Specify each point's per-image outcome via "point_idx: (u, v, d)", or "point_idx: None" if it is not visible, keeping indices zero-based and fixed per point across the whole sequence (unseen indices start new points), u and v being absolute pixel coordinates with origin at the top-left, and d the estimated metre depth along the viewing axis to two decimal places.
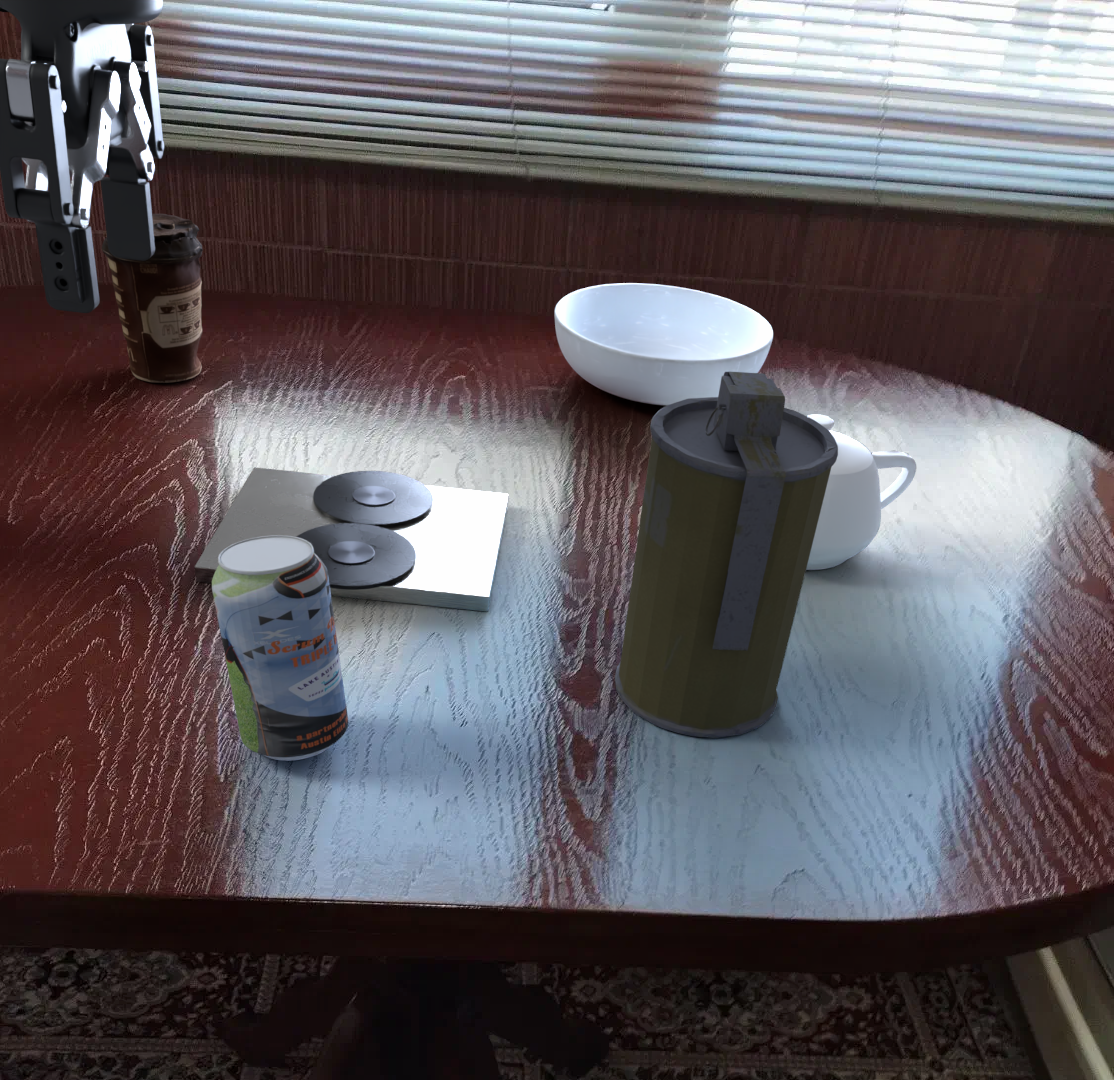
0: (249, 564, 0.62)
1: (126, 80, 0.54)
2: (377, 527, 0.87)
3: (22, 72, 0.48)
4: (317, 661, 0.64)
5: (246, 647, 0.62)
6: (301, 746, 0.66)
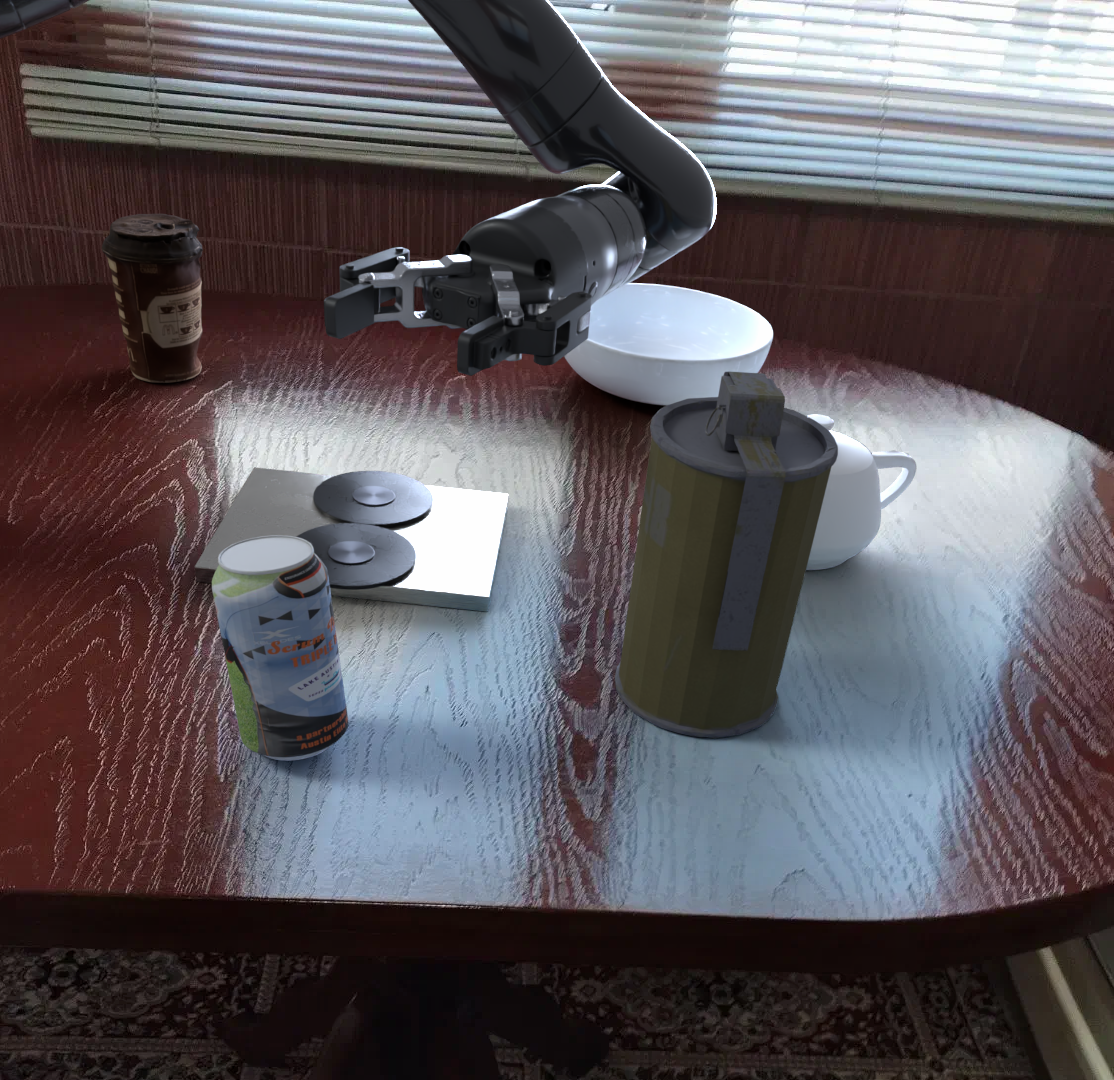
0: (249, 564, 0.62)
1: None
2: (377, 527, 0.87)
3: (589, 320, 0.70)
4: (317, 661, 0.64)
5: (246, 647, 0.62)
6: (301, 746, 0.66)
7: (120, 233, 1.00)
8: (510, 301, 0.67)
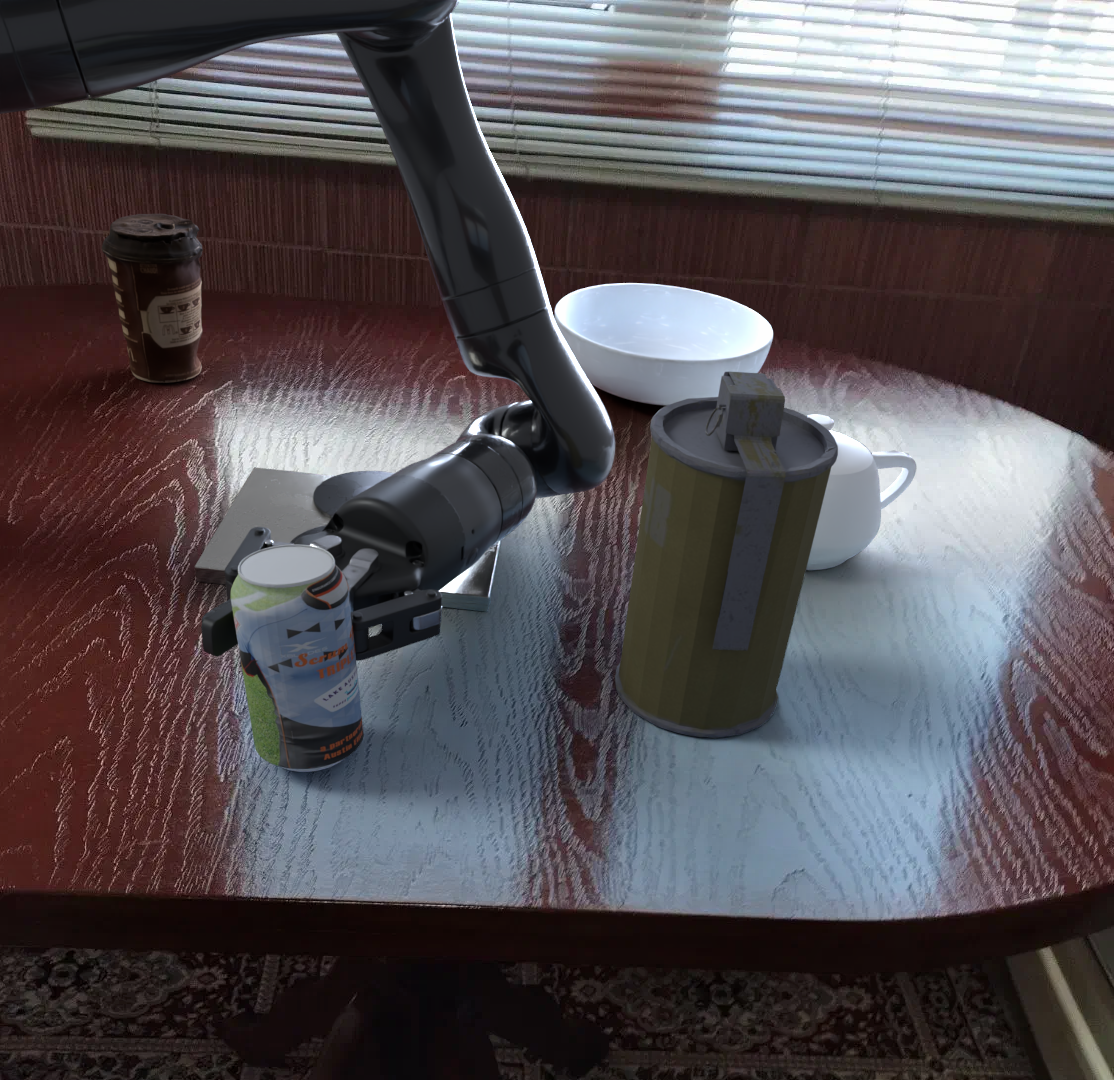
0: (273, 577, 0.61)
1: None
2: None
3: (439, 618, 0.68)
4: (341, 671, 0.63)
5: (271, 660, 0.61)
6: (324, 756, 0.65)
7: (120, 233, 1.00)
8: None
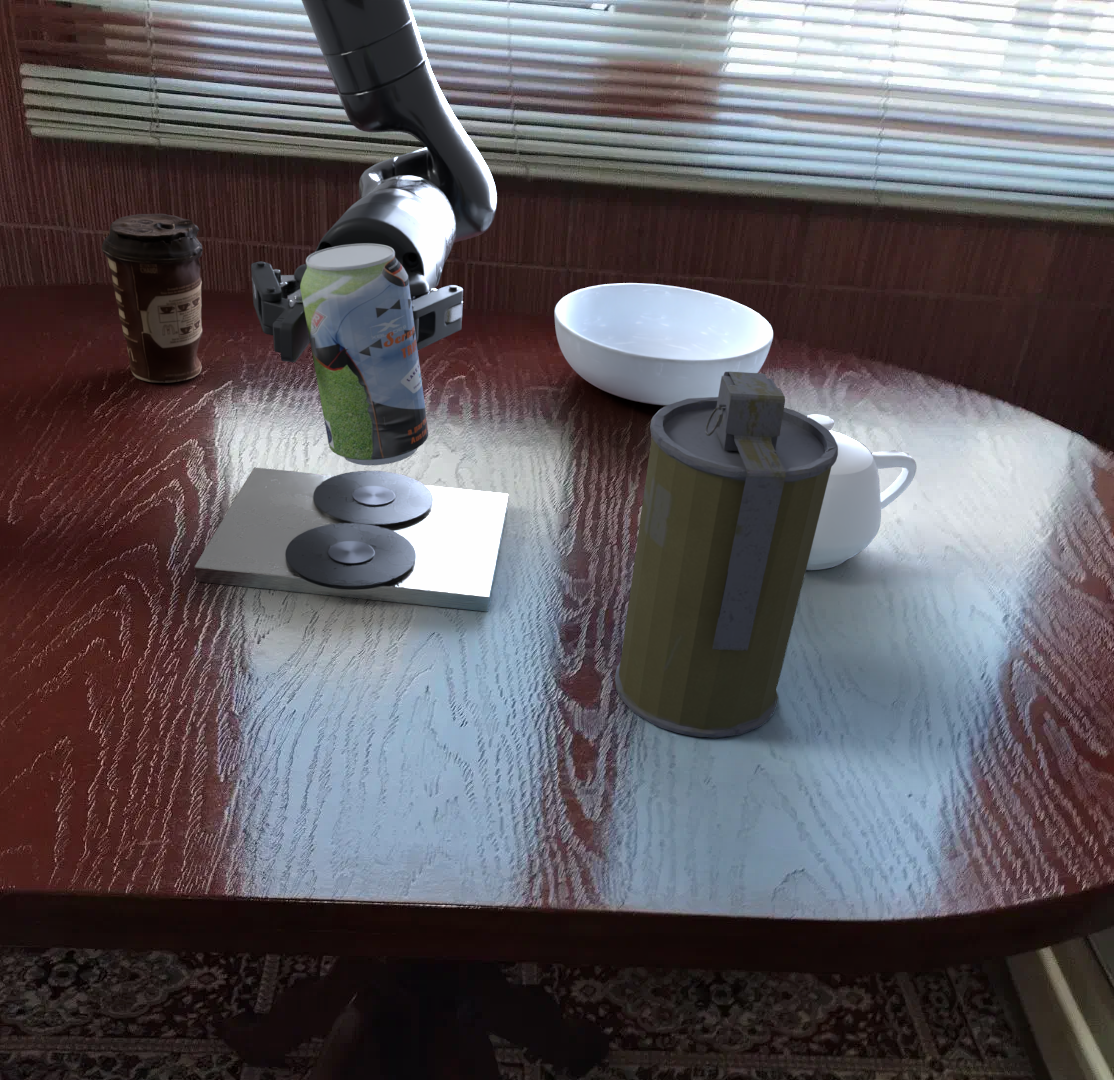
0: (350, 263, 0.66)
1: None
2: (377, 527, 0.87)
3: (461, 312, 0.75)
4: (415, 352, 0.69)
5: (362, 344, 0.67)
6: (411, 440, 0.71)
7: (120, 233, 1.00)
8: None
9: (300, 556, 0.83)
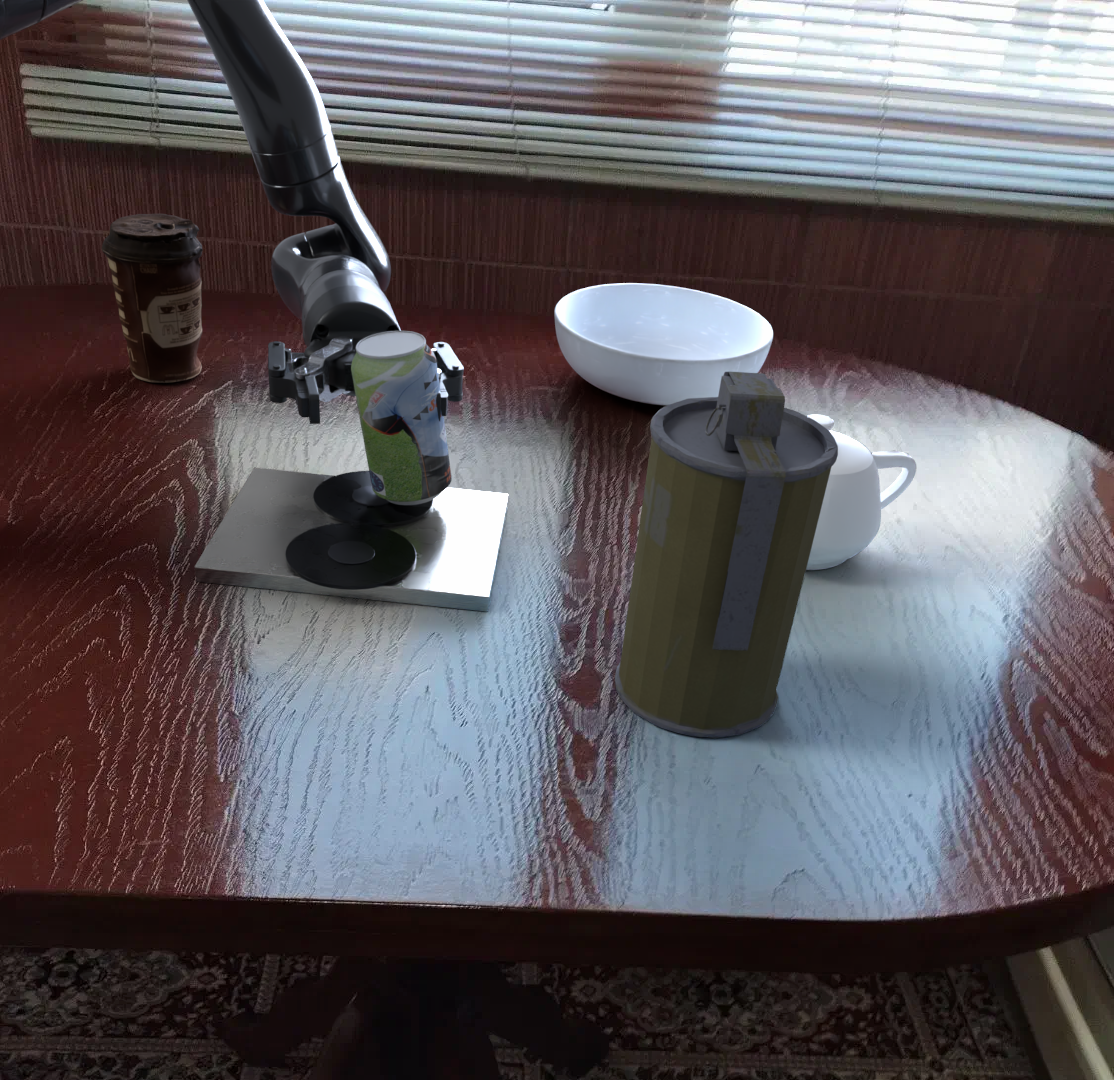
0: (398, 350, 0.83)
1: None
2: (377, 527, 0.87)
3: None
4: None
5: (415, 412, 0.85)
6: (446, 480, 0.90)
7: (120, 233, 1.00)
8: None
9: (300, 556, 0.83)
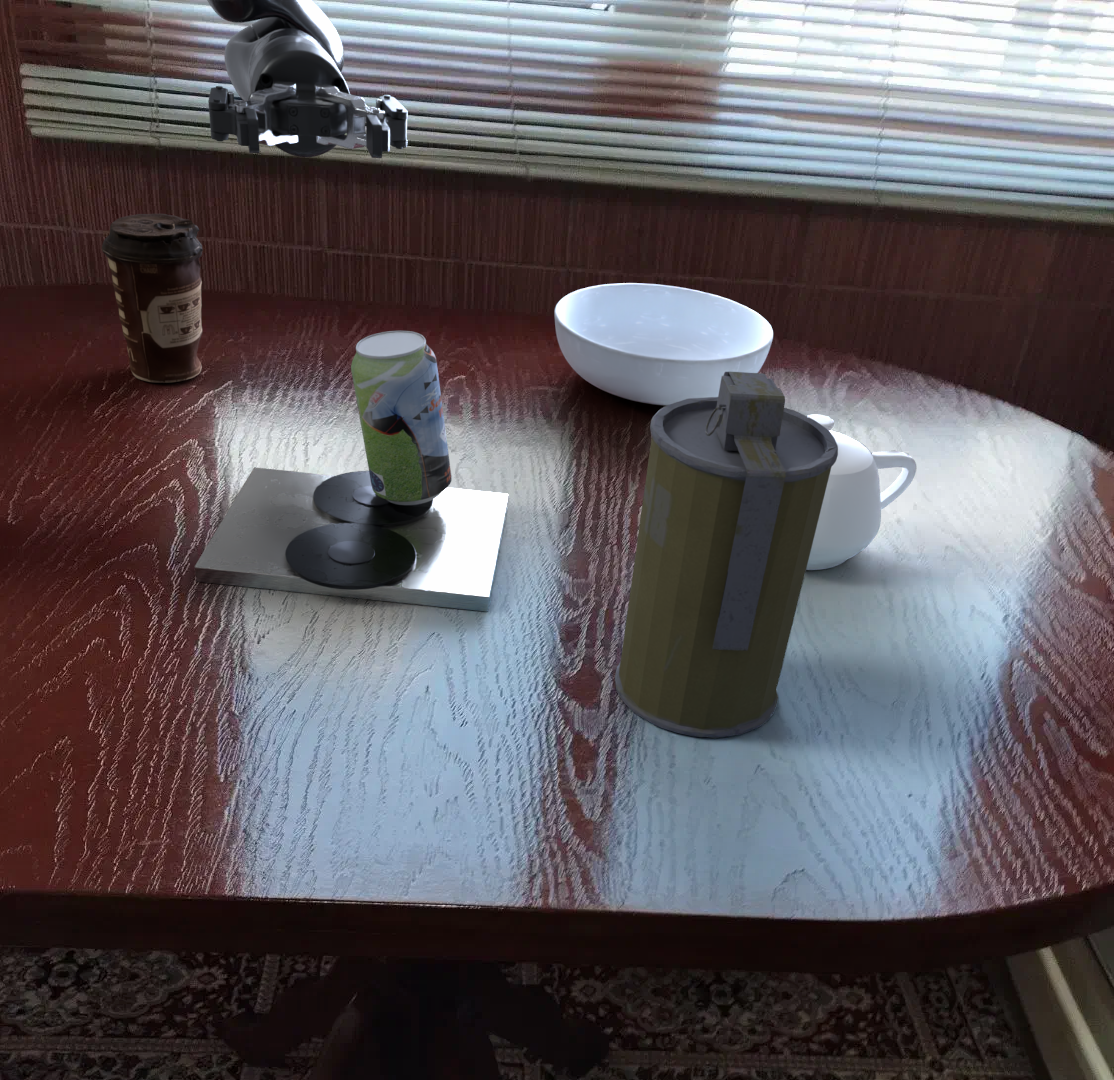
0: (398, 350, 0.83)
1: (297, 138, 0.92)
2: (377, 527, 0.87)
3: None
4: None
5: (415, 412, 0.85)
6: (446, 480, 0.90)
7: (120, 233, 1.00)
8: (361, 105, 0.89)
9: (300, 556, 0.83)
